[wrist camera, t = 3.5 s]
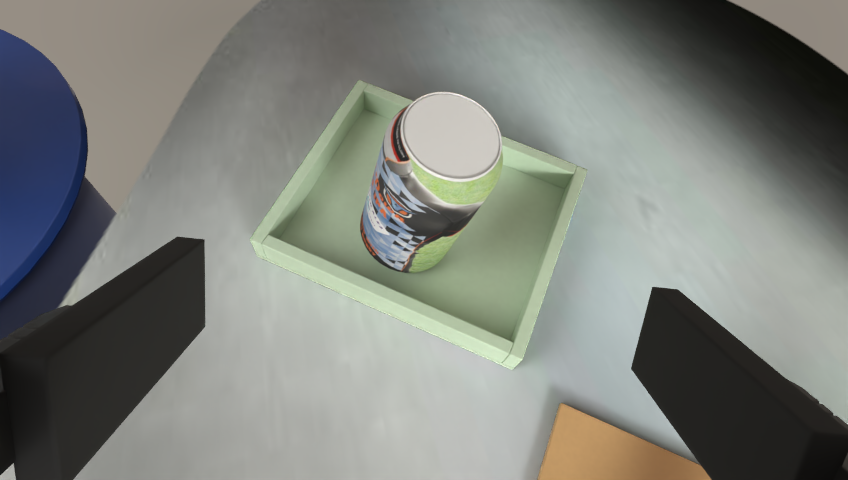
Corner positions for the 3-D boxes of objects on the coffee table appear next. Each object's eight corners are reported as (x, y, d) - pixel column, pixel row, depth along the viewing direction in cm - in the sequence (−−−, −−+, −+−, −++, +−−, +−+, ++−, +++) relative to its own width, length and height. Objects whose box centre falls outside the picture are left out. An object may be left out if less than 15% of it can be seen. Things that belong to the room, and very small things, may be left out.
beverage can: (372, 190, 36) (372, 57, 26) (476, 212, 36) (519, 88, 26) (349, 271, 33) (339, 160, 23) (462, 295, 33) (505, 194, 23)
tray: (257, 256, 34) (249, 239, 32) (359, 101, 40) (358, 79, 38) (512, 370, 32) (522, 360, 30) (576, 188, 38) (588, 169, 36)
